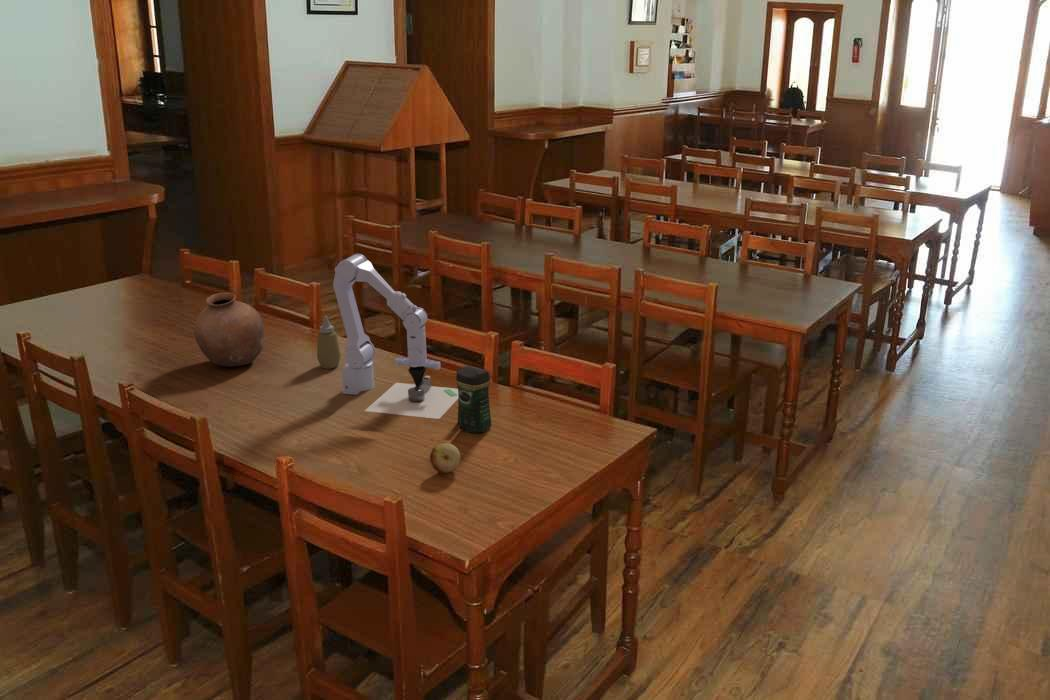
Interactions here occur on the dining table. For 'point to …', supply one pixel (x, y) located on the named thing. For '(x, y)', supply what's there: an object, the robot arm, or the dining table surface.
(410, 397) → the grey measuring scoop
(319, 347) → the squeeze bottle
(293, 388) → the dining table surface
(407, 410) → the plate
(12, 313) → the dining table surface
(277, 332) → the dining table surface
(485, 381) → the coffee jar
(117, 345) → the dining table surface
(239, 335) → the pottery
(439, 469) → the fruit
